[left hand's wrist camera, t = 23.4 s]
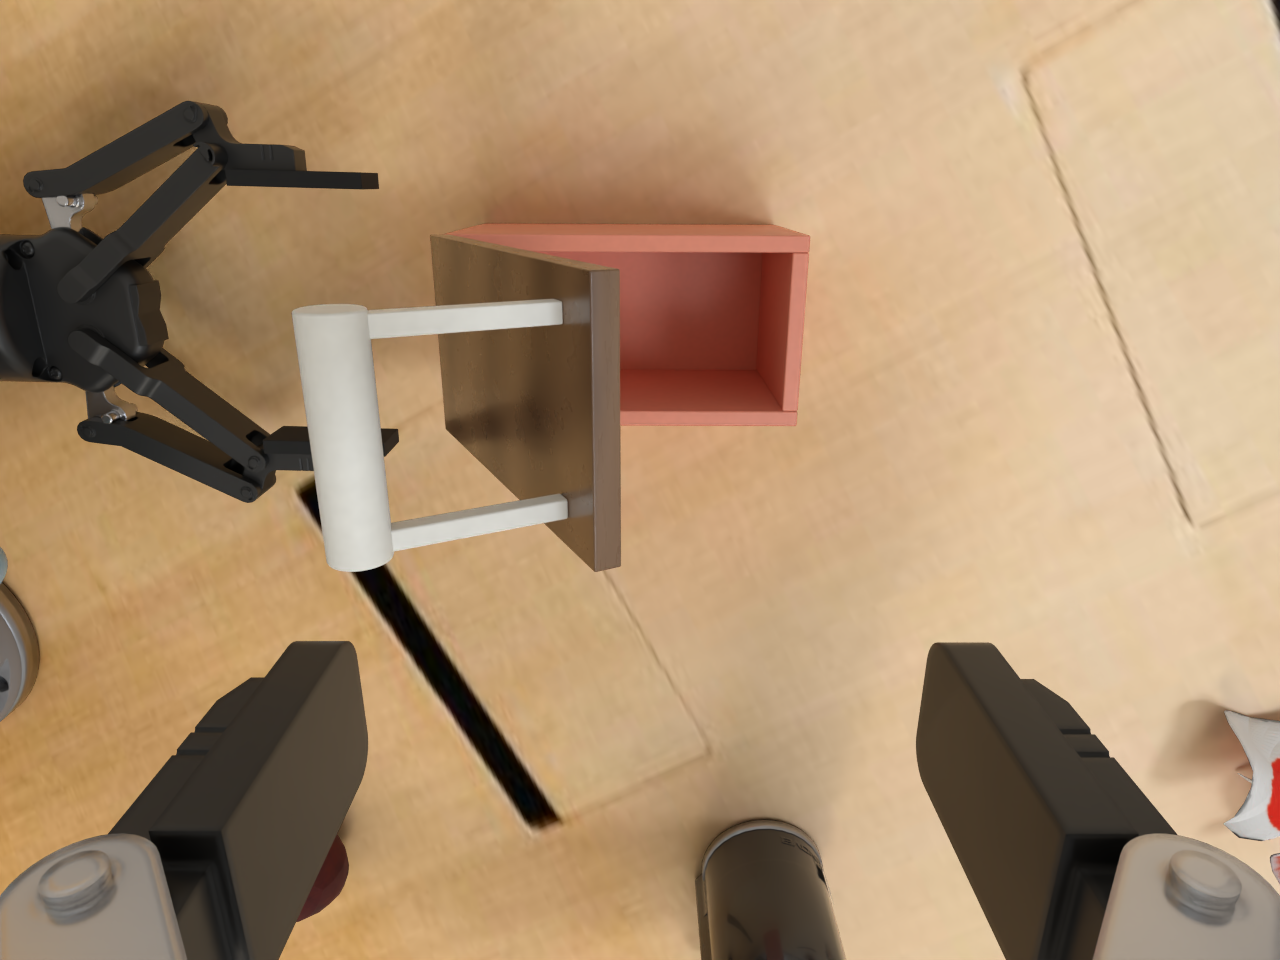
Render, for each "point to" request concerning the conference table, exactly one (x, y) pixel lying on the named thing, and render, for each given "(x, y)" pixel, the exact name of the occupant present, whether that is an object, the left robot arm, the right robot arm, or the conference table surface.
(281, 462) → the right robot arm
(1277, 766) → the fish
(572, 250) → the chest
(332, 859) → the potato
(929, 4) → the conference table surface
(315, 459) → the lid
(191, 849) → the left robot arm
